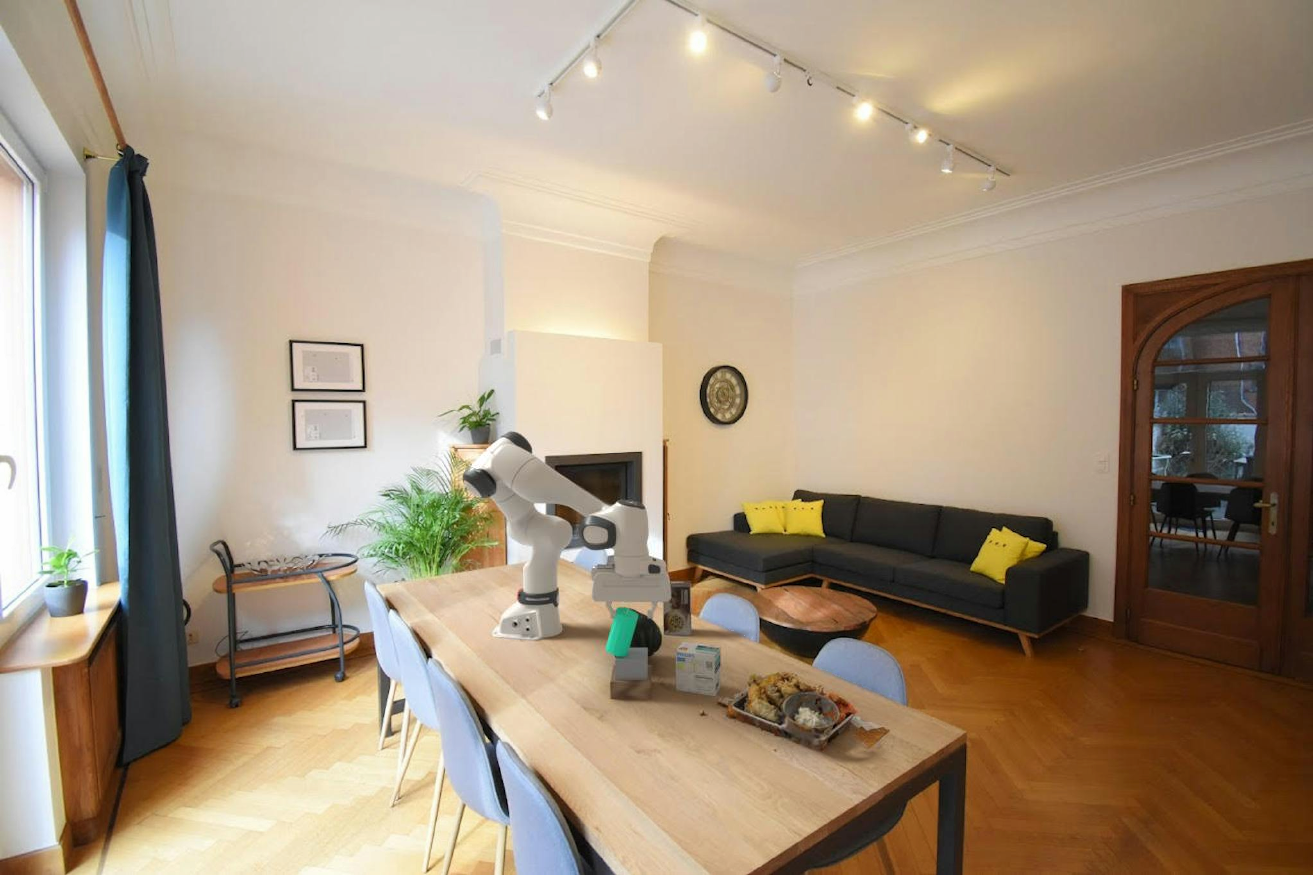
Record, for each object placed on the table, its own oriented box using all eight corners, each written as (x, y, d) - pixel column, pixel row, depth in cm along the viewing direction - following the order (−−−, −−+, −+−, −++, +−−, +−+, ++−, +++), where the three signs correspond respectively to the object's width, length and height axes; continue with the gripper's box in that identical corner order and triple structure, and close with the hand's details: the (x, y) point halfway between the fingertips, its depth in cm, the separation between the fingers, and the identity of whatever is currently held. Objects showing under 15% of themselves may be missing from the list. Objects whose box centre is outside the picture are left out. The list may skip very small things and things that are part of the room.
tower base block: (610, 701, 145) (610, 682, 144) (613, 683, 155) (613, 664, 154) (650, 701, 144) (650, 682, 144) (651, 683, 154) (651, 665, 154)
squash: (600, 665, 166) (599, 612, 165) (637, 649, 177) (636, 600, 176) (635, 680, 156) (635, 624, 156) (672, 662, 167) (672, 610, 166)
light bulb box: (721, 686, 152) (721, 645, 152) (715, 697, 146) (715, 655, 146) (682, 680, 156) (682, 640, 155) (675, 691, 149) (674, 650, 149)
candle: (603, 643, 151) (616, 599, 151) (625, 647, 153) (637, 604, 152) (607, 654, 146) (619, 608, 145) (629, 658, 147) (642, 613, 147)
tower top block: (615, 680, 146) (615, 660, 145) (617, 666, 154) (617, 647, 153) (647, 679, 146) (647, 660, 145) (647, 666, 154) (647, 647, 153)
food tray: (890, 733, 130) (890, 686, 130) (834, 784, 112) (834, 729, 112) (760, 683, 155) (760, 644, 155) (697, 719, 137) (696, 674, 137)
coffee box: (691, 628, 194) (691, 580, 193) (690, 636, 187) (690, 586, 187) (664, 628, 195) (664, 580, 194) (662, 635, 188) (662, 585, 188)
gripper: (589, 567, 145) (589, 622, 146) (671, 567, 145) (671, 622, 145) (592, 561, 152) (592, 613, 152) (671, 561, 151) (671, 614, 152)
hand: (631, 618), depth 149 cm, fingers open, 8 cm apart
